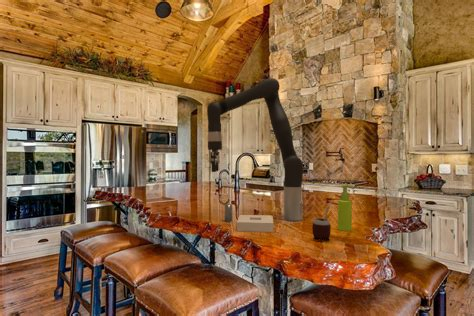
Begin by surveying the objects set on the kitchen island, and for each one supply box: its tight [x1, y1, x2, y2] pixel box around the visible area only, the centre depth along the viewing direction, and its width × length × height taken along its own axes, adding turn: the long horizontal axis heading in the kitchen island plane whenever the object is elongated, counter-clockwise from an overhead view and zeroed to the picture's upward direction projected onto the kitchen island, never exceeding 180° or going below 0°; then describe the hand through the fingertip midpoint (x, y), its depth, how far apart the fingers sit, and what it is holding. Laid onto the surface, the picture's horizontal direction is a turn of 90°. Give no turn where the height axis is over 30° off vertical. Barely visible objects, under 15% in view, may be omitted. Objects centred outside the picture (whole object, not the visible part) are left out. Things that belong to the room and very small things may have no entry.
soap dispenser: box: [337, 185, 355, 232], centre depth 133 cm, size 6×7×20 cm
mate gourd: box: [311, 201, 333, 243], centre depth 118 cm, size 8×8×15 cm
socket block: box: [236, 214, 274, 233], centre depth 137 cm, size 16×16×4 cm
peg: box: [224, 203, 233, 223], centre depth 149 cm, size 4×4×8 cm
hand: (215, 171), depth 155 cm, fingers open, 8 cm apart
